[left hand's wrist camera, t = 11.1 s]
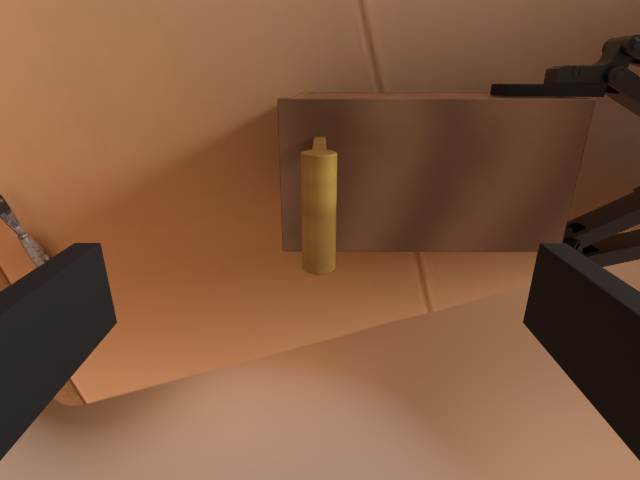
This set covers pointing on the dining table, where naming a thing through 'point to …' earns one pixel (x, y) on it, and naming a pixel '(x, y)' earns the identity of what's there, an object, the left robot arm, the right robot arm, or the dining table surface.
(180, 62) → the dining table surface
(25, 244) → the putty knife
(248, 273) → the dining table surface
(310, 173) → the lid
